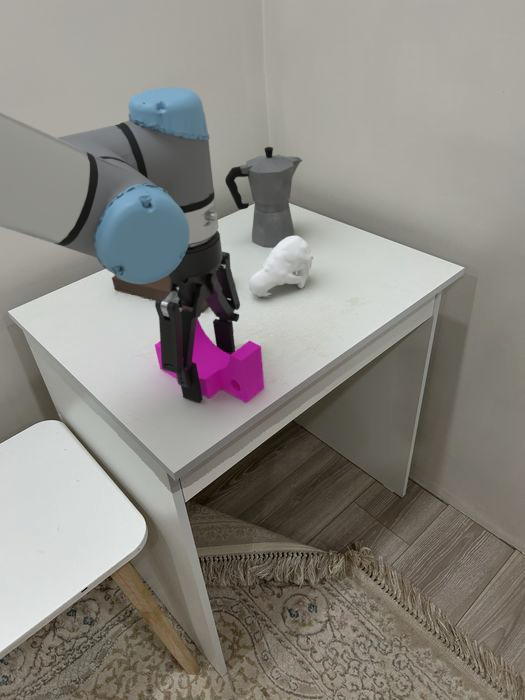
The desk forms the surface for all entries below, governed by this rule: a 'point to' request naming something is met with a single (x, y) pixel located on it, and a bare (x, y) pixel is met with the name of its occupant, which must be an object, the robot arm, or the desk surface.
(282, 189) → the coffeepot
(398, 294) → the desk surface
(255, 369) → the magenta curved bracket
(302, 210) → the desk surface
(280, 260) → the white lumpy piece
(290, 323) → the desk surface
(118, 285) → the dark brown rectangular tray
